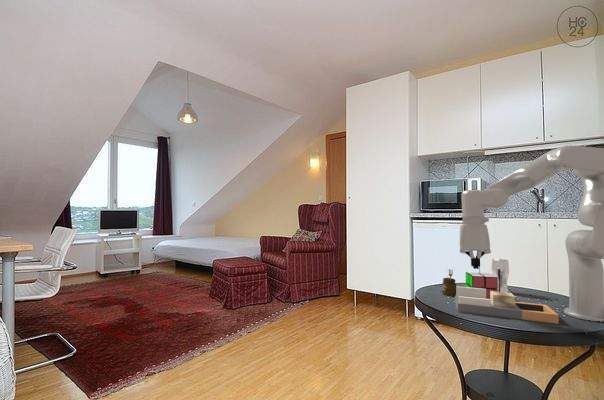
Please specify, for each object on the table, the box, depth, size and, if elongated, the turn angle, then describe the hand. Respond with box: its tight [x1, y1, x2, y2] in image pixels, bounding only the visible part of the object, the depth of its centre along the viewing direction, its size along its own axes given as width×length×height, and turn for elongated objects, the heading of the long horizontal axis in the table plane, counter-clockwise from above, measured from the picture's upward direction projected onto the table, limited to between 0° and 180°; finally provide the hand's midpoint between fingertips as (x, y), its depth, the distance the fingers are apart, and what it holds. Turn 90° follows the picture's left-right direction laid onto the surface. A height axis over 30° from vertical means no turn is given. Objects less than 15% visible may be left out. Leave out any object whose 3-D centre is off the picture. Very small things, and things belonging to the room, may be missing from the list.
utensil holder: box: [441, 268, 457, 297], centre depth 143 cm, size 6×6×12 cm
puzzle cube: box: [465, 271, 498, 299], centre depth 140 cm, size 10×10×10 cm
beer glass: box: [491, 258, 510, 293], centre depth 149 cm, size 7×7×15 cm
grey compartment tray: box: [454, 285, 560, 325], centre depth 118 cm, size 31×12×7 cm, turn 68°
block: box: [490, 291, 516, 308], centre depth 118 cm, size 7×6×4 cm
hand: (475, 268), depth 122 cm, fingers closed
